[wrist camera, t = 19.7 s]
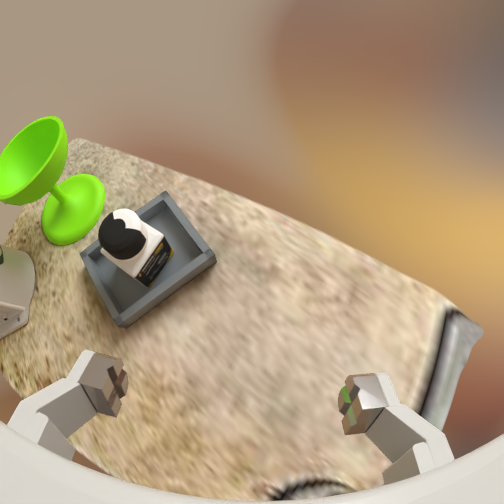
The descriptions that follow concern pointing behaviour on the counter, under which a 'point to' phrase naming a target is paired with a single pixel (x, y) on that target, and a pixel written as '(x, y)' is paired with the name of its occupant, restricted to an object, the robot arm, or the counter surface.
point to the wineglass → (50, 181)
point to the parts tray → (170, 278)
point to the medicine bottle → (134, 246)
